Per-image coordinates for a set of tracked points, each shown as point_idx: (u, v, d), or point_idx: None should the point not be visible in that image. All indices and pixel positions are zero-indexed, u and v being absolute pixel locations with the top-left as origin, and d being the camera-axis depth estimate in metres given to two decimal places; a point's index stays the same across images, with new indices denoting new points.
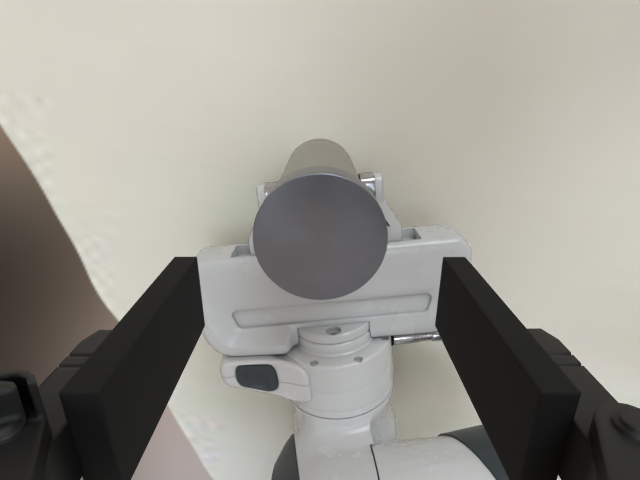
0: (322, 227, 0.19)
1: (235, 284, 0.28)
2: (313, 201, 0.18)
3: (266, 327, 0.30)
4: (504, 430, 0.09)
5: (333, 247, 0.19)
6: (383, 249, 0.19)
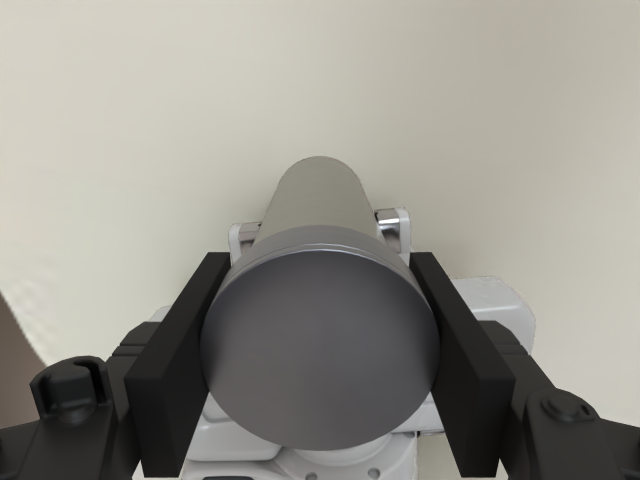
0: (323, 340, 0.10)
1: None
2: (307, 297, 0.10)
3: None
4: (453, 417, 0.09)
5: (343, 371, 0.11)
6: (431, 374, 0.11)
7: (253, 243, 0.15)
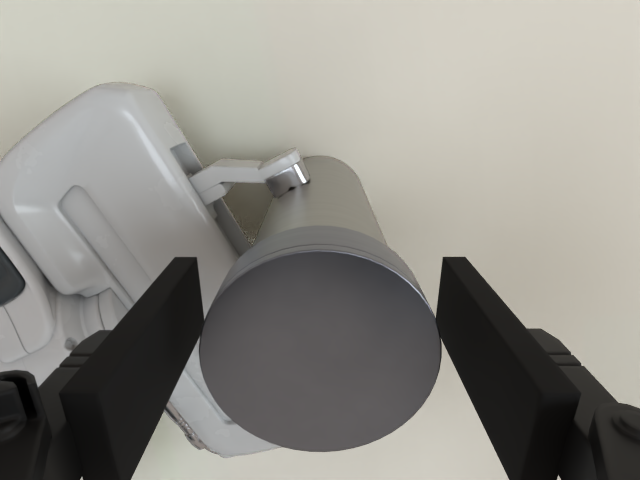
0: (306, 344, 0.10)
1: (129, 174, 0.17)
2: (261, 321, 0.10)
3: (84, 244, 0.18)
4: (505, 430, 0.09)
5: (346, 357, 0.11)
6: (423, 307, 0.10)
7: (327, 202, 0.15)
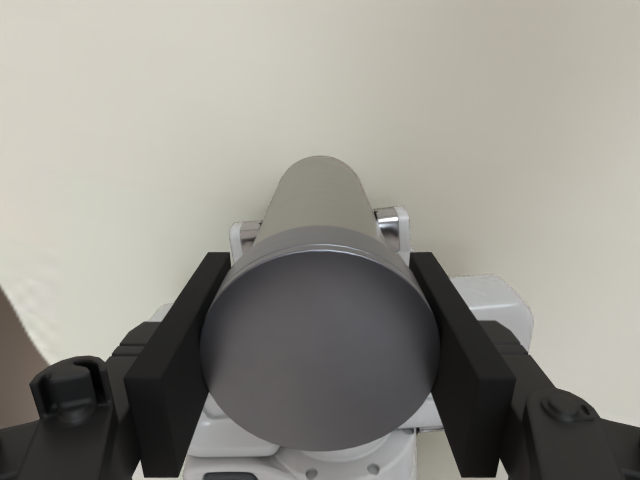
0: (295, 366, 0.11)
1: None
2: (258, 390, 0.11)
3: None
4: (453, 416, 0.09)
5: (324, 338, 0.10)
6: (295, 257, 0.10)
7: (254, 241, 0.15)
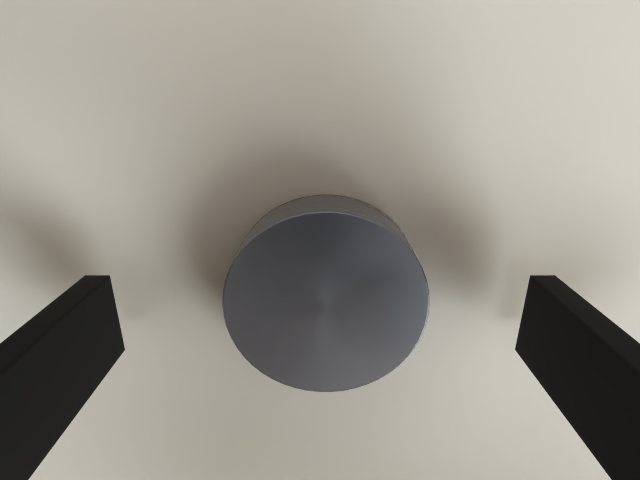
0: (304, 314, 0.12)
1: None
2: (272, 335, 0.13)
3: None
4: None
5: (329, 289, 0.12)
6: (305, 218, 0.11)
7: None
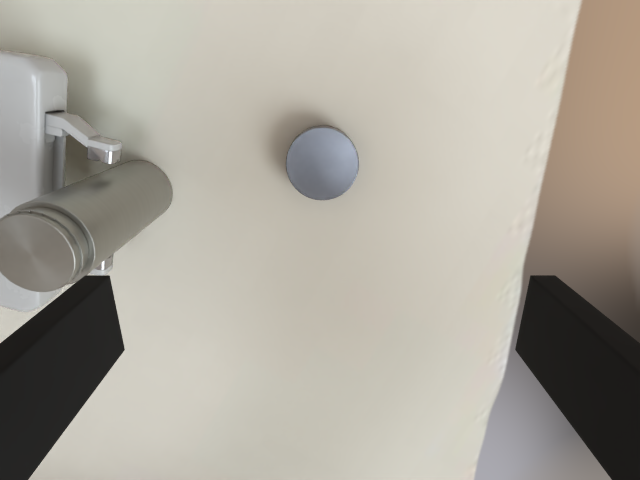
0: (314, 166, 0.35)
1: (11, 107, 0.27)
2: (303, 175, 0.36)
3: None
4: None
5: (323, 156, 0.35)
6: (315, 130, 0.34)
7: (102, 200, 0.27)
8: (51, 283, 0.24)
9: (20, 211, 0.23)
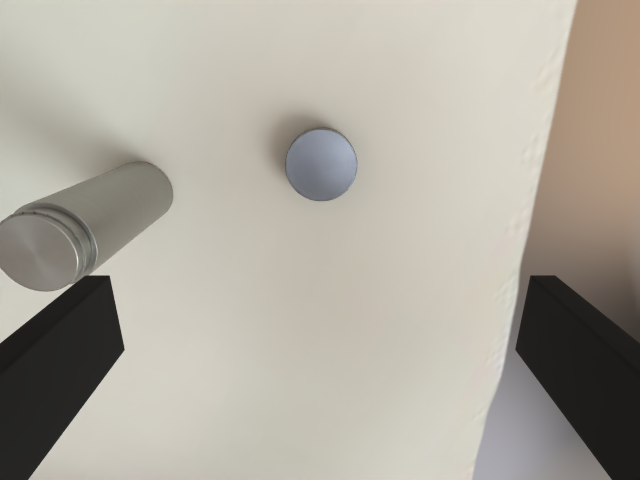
0: (313, 167, 0.36)
1: None
2: (302, 176, 0.36)
3: None
4: None
5: (322, 158, 0.35)
6: (314, 131, 0.35)
7: (104, 201, 0.28)
8: (54, 282, 0.24)
9: (24, 212, 0.23)
